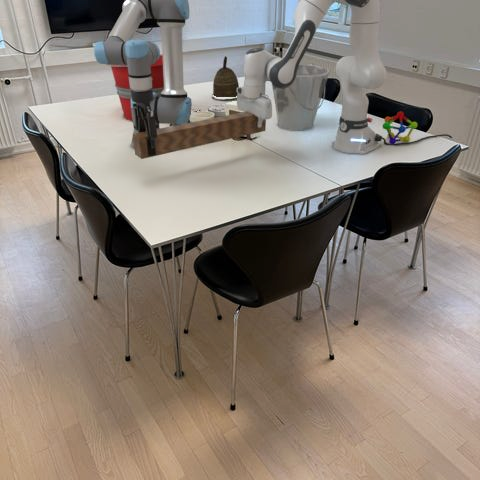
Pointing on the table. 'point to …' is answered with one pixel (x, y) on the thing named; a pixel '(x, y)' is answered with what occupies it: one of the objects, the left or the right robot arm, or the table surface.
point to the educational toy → (398, 128)
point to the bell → (225, 82)
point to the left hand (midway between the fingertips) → (148, 152)
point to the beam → (198, 133)
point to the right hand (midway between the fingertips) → (253, 124)
